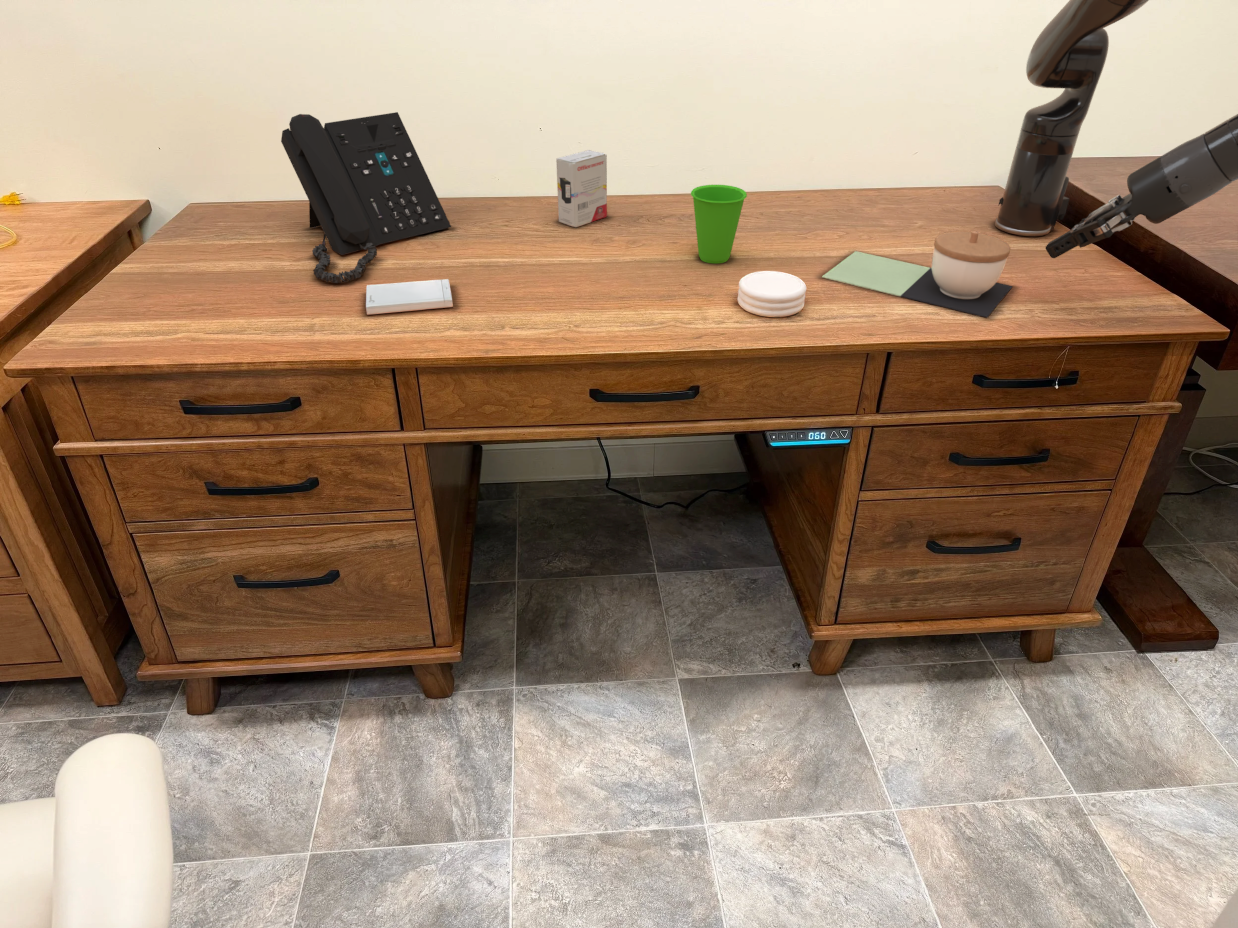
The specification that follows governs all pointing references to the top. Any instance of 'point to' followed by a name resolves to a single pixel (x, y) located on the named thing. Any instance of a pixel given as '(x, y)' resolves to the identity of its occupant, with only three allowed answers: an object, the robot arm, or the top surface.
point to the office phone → (361, 185)
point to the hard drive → (408, 296)
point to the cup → (716, 220)
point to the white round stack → (771, 293)
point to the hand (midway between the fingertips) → (1049, 251)
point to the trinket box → (968, 263)
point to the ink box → (582, 187)
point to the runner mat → (910, 283)
